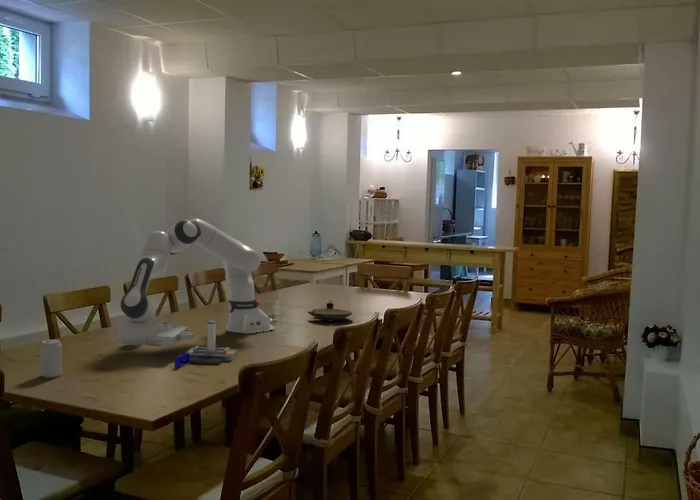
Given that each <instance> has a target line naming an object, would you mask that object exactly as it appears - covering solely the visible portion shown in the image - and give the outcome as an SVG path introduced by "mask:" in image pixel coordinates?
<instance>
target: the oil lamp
mask: <svg viewBox="0 0 700 500" xmlns="http://www.w3.org/2000/svg"><path fill="white" fill-rule="evenodd" d="M307 313H308V314H309V315H310V316H312V317H314V318H316V319H318V320H320V321H327V320H337V321H340V320H344V319H346V318H347V317H350V316H351V315H352V314H353V312H352V311H350V310H343V309H337V308H334V303H333V301H332V300H331V299H329V300H328V302H327V303H326V308H314V309H312V310H311V311H307Z"/></svg>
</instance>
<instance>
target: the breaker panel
mask: <svg viewBox="0 0 700 500" xmlns="http://www.w3.org/2000/svg"><path fill="white" fill-rule="evenodd" d="M226 347H227V348H215V351H212V350H207V348H206V347H204V346H202V347H200V346H199V345H196V346H195V347H191V348H190V349H189V350H187V351H186V352H185V353H189V360H192V359H212V360H221V361H222V362H225V361H231V360H232V359H233V358H234V357H237V356H238V350H239V349H238V348H231V347H230V348H231V349H230V348H229V346H226ZM234 359H235V358H234ZM234 359H233V360H234ZM233 360H232V361H233ZM232 361H231V362H232Z"/></svg>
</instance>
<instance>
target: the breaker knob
mask: <svg viewBox="0 0 700 500" xmlns="http://www.w3.org/2000/svg"><path fill="white" fill-rule="evenodd" d="M216 322H217V320H208V321H207V350H212V351H215V347H216V336H217V335H216V334H217V333H216V332H217V331H216V330H217V329H216V327H217V326H216Z"/></svg>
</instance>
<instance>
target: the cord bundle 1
mask: <svg viewBox="0 0 700 500" xmlns="http://www.w3.org/2000/svg"><path fill="white" fill-rule="evenodd" d="M203 347H206V348H207V346H205V345H204V346H203ZM227 347H229V346H215V348H227ZM229 348H230V349H232V348H231V347H229Z"/></svg>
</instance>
